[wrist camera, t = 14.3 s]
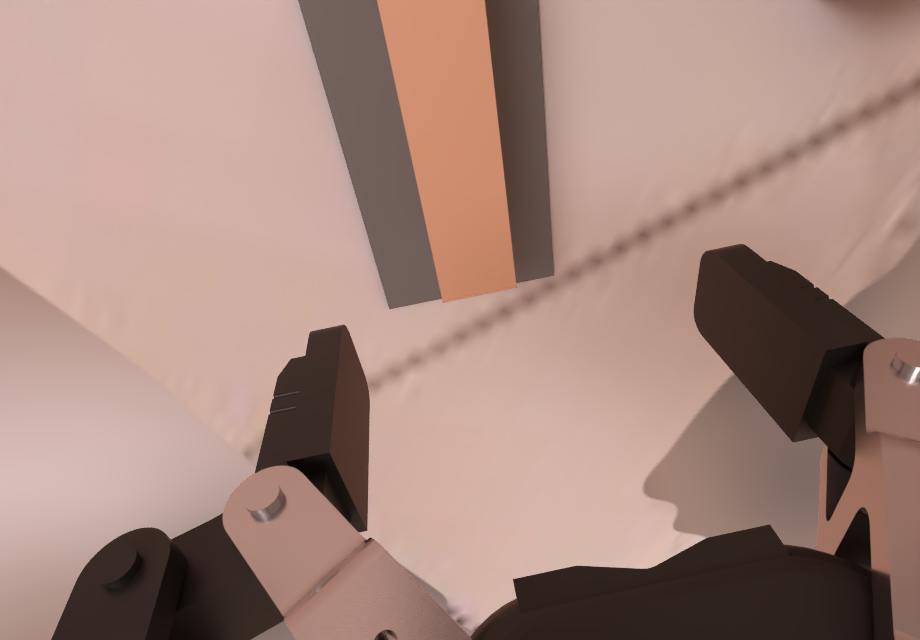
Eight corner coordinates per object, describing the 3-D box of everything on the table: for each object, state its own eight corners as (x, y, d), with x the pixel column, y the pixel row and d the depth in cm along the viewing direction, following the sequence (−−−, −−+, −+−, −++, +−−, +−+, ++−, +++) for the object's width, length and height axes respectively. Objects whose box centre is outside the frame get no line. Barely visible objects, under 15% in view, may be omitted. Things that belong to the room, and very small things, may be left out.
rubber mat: (242, -194, 22) (240, -197, 21) (520, -248, 22) (523, -252, 21) (389, 305, 37) (389, 309, 36) (551, 271, 37) (553, 275, 37)
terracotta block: (365, -65, 24) (360, -73, 18) (448, -82, 24) (474, -96, 18) (430, 236, 34) (443, 302, 27) (490, 224, 34) (516, 287, 27)
